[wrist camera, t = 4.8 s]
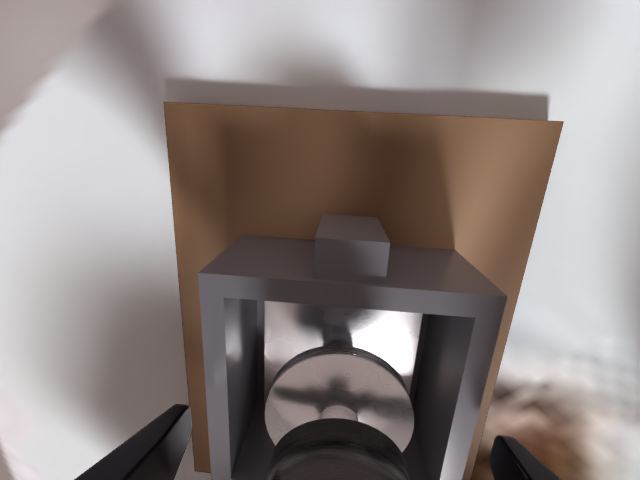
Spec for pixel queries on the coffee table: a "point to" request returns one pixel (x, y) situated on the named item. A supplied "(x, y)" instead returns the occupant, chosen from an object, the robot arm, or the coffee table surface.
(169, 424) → the robot arm
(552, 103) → the coffee table surface
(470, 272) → the press
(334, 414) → the plunger
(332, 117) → the board
